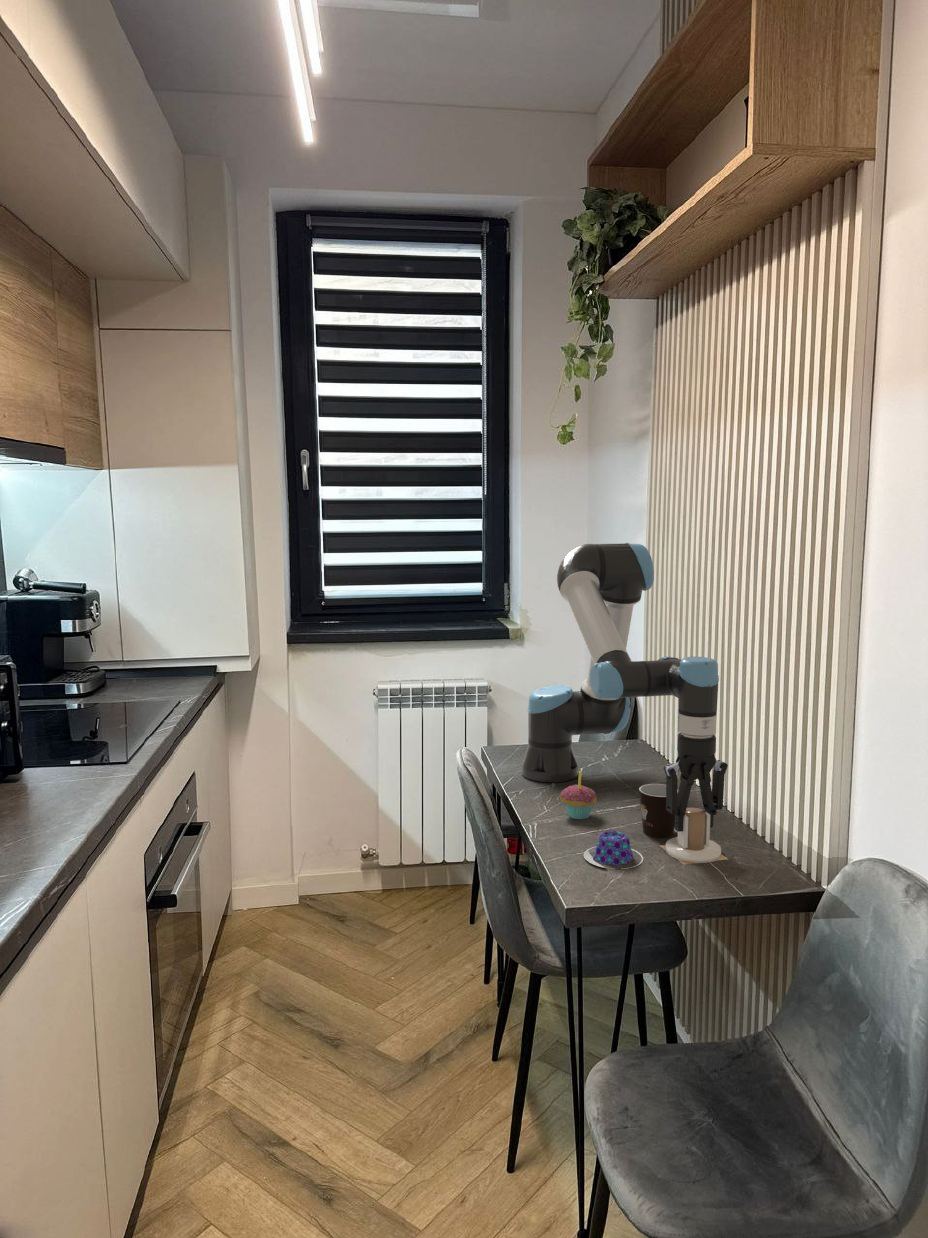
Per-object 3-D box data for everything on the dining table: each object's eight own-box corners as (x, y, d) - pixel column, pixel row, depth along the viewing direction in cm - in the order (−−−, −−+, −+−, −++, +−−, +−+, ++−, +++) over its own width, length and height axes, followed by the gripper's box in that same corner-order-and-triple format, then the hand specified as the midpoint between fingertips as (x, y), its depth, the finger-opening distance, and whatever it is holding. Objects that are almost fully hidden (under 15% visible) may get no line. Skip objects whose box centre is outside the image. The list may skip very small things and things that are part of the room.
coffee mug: (679, 843, 180) (680, 798, 178) (638, 840, 181) (639, 795, 180) (676, 823, 191) (678, 780, 190) (638, 821, 193) (639, 778, 191)
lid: (656, 844, 178) (657, 805, 177) (702, 839, 181) (703, 800, 179) (683, 865, 167) (684, 823, 166) (731, 859, 170) (733, 818, 169)
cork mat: (659, 847, 177) (659, 845, 177) (701, 842, 180) (701, 840, 180) (684, 866, 168) (684, 864, 168) (728, 860, 170) (728, 859, 170)
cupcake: (600, 822, 192) (601, 771, 190) (563, 823, 192) (563, 772, 190) (592, 808, 200) (593, 759, 199) (557, 809, 200) (557, 760, 198)
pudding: (615, 878, 164) (615, 852, 163) (571, 858, 173) (571, 833, 172) (655, 862, 171) (656, 837, 170) (611, 843, 180) (611, 820, 180)
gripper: (667, 742, 165) (664, 856, 168) (745, 735, 169) (740, 846, 172) (649, 732, 172) (646, 842, 175) (724, 726, 177) (720, 833, 180)
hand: (693, 844), depth 174 cm, fingers closed on lid, 4 cm apart
